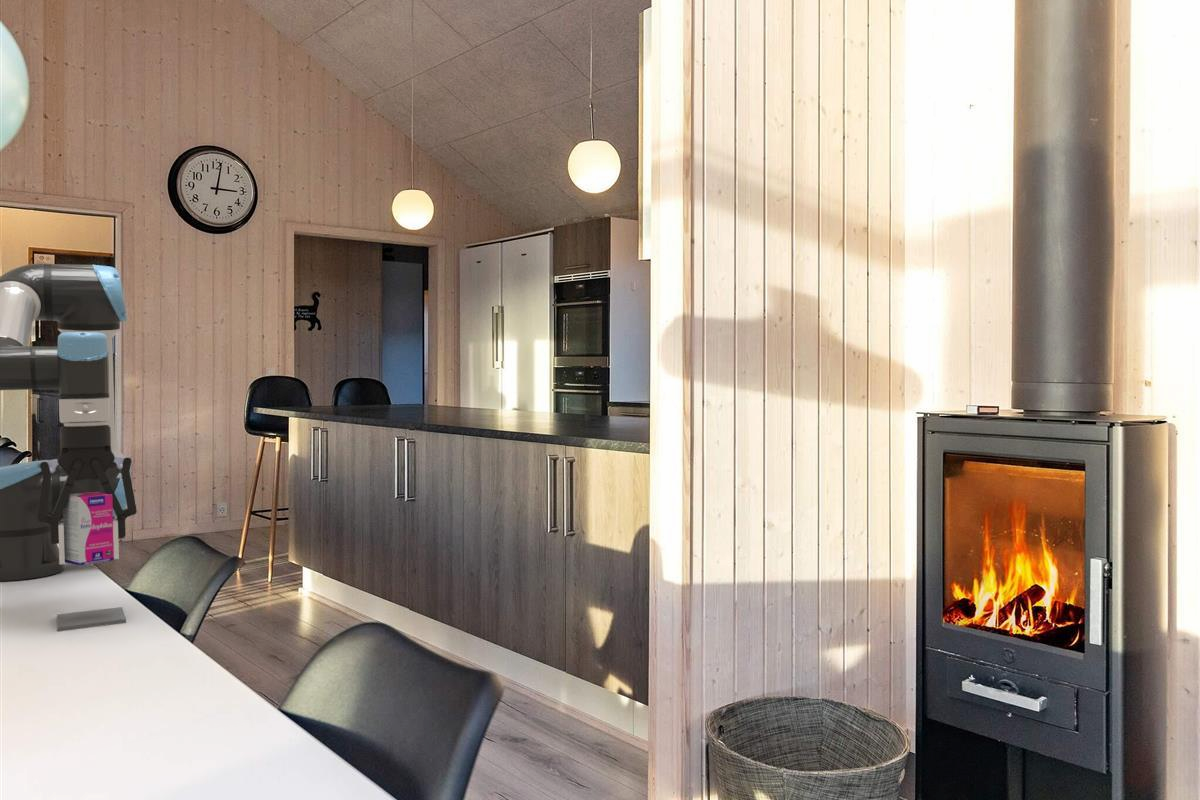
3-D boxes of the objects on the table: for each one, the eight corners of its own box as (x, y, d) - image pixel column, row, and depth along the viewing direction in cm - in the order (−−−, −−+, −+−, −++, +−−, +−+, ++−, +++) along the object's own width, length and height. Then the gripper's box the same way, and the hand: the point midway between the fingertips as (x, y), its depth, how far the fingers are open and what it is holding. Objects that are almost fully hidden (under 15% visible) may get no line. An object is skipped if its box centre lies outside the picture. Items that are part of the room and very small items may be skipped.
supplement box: (80, 566, 160) (77, 497, 160) (63, 562, 164) (61, 494, 164) (115, 560, 165) (113, 493, 165) (98, 557, 169) (96, 490, 168)
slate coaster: (57, 617, 167) (56, 614, 167) (122, 610, 172) (122, 606, 172) (57, 631, 158) (57, 627, 158) (126, 622, 163) (125, 618, 163)
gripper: (14, 427, 156) (18, 570, 156) (153, 422, 166) (157, 557, 166) (15, 425, 162) (20, 563, 163) (149, 421, 172) (153, 550, 173)
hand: (89, 560), depth 164 cm, fingers closed on supplement box, 7 cm apart
